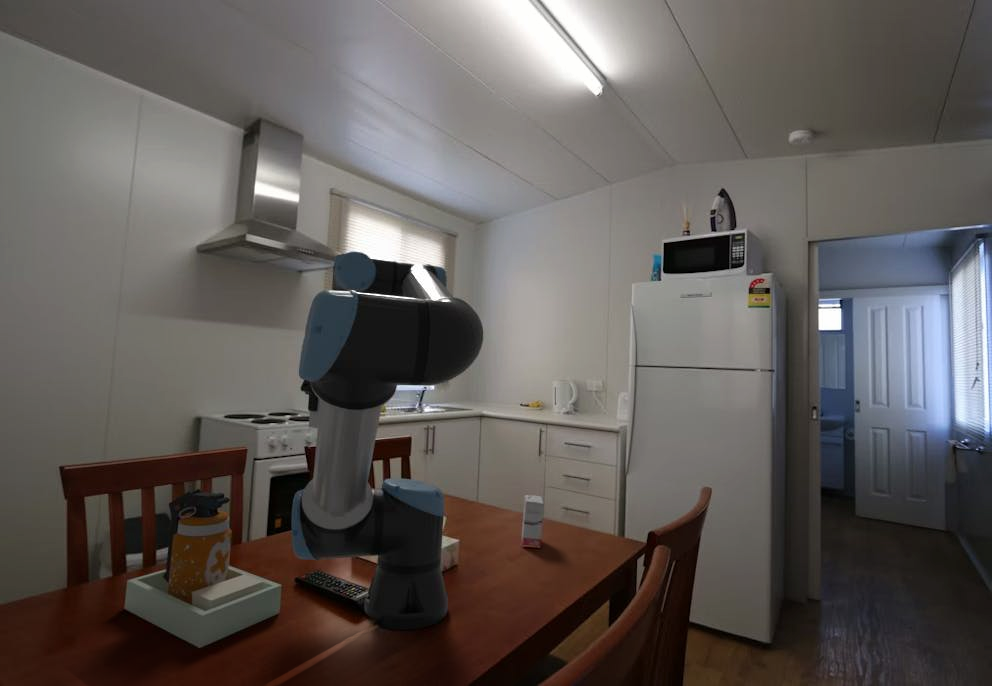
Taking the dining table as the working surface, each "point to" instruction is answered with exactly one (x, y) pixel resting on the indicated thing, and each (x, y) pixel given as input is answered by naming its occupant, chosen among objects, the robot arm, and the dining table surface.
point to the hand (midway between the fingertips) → (339, 426)
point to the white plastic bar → (225, 592)
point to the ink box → (532, 520)
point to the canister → (197, 544)
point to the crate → (193, 623)
